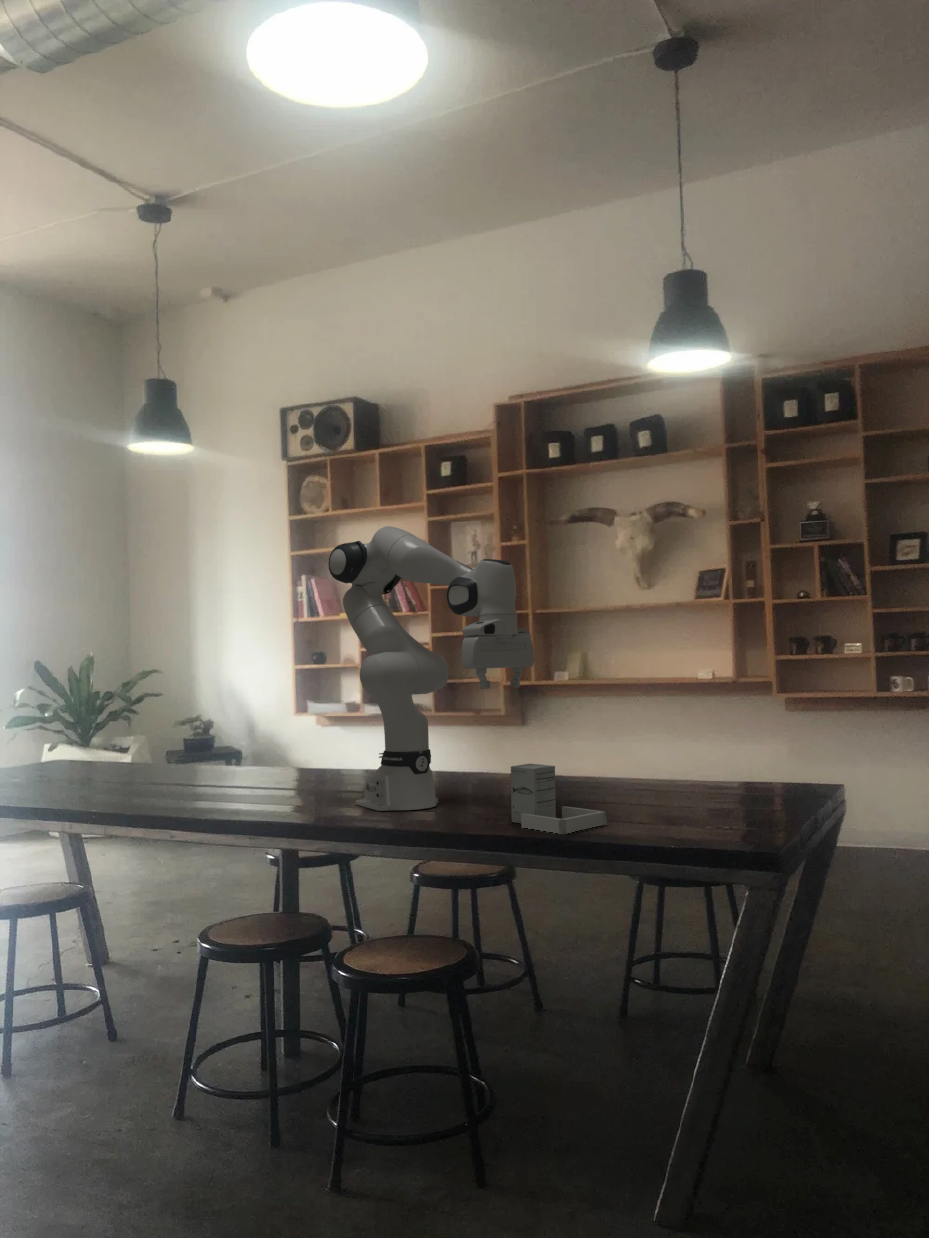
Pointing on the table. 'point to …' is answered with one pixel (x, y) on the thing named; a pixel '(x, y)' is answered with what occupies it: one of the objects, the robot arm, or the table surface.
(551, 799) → the supplement box
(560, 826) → the bay
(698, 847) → the table surface
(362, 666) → the robot arm
